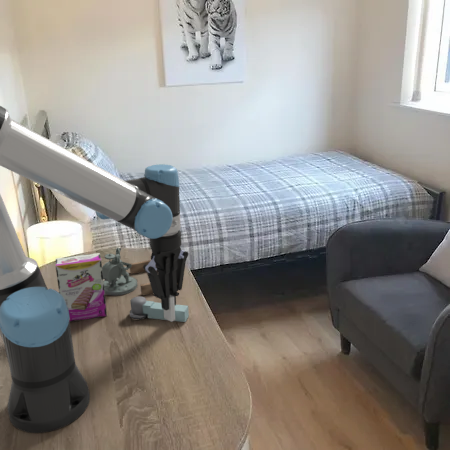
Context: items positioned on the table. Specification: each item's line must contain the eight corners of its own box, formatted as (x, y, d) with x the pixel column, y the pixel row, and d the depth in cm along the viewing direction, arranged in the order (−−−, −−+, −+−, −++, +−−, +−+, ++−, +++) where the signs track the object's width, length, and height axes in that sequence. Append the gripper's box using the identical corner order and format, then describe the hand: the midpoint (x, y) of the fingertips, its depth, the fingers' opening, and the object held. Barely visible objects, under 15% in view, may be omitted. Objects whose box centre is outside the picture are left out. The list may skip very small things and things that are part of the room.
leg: (184, 323, 126) (183, 309, 124) (129, 316, 129) (127, 303, 128) (189, 314, 130) (188, 301, 128) (135, 309, 133) (134, 295, 131)
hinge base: (132, 321, 128) (131, 312, 127) (126, 308, 134) (125, 300, 133) (179, 311, 132) (178, 302, 131) (171, 299, 138) (171, 291, 137)
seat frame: (142, 295, 140) (141, 286, 139) (130, 272, 154) (129, 263, 153) (179, 288, 144) (179, 278, 143) (164, 266, 158) (164, 257, 157)
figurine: (144, 283, 147) (141, 246, 143) (119, 299, 139) (115, 259, 135) (118, 275, 153) (114, 239, 148) (92, 290, 144) (87, 252, 140)
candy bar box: (63, 324, 127) (54, 265, 121) (63, 314, 131) (54, 257, 126) (108, 316, 130) (101, 259, 124) (106, 307, 135) (99, 251, 129)
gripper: (154, 242, 111) (160, 335, 119) (195, 227, 120) (198, 313, 128) (133, 235, 115) (140, 324, 123) (173, 220, 124) (177, 304, 132)
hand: (169, 318), depth 126 cm, fingers closed
